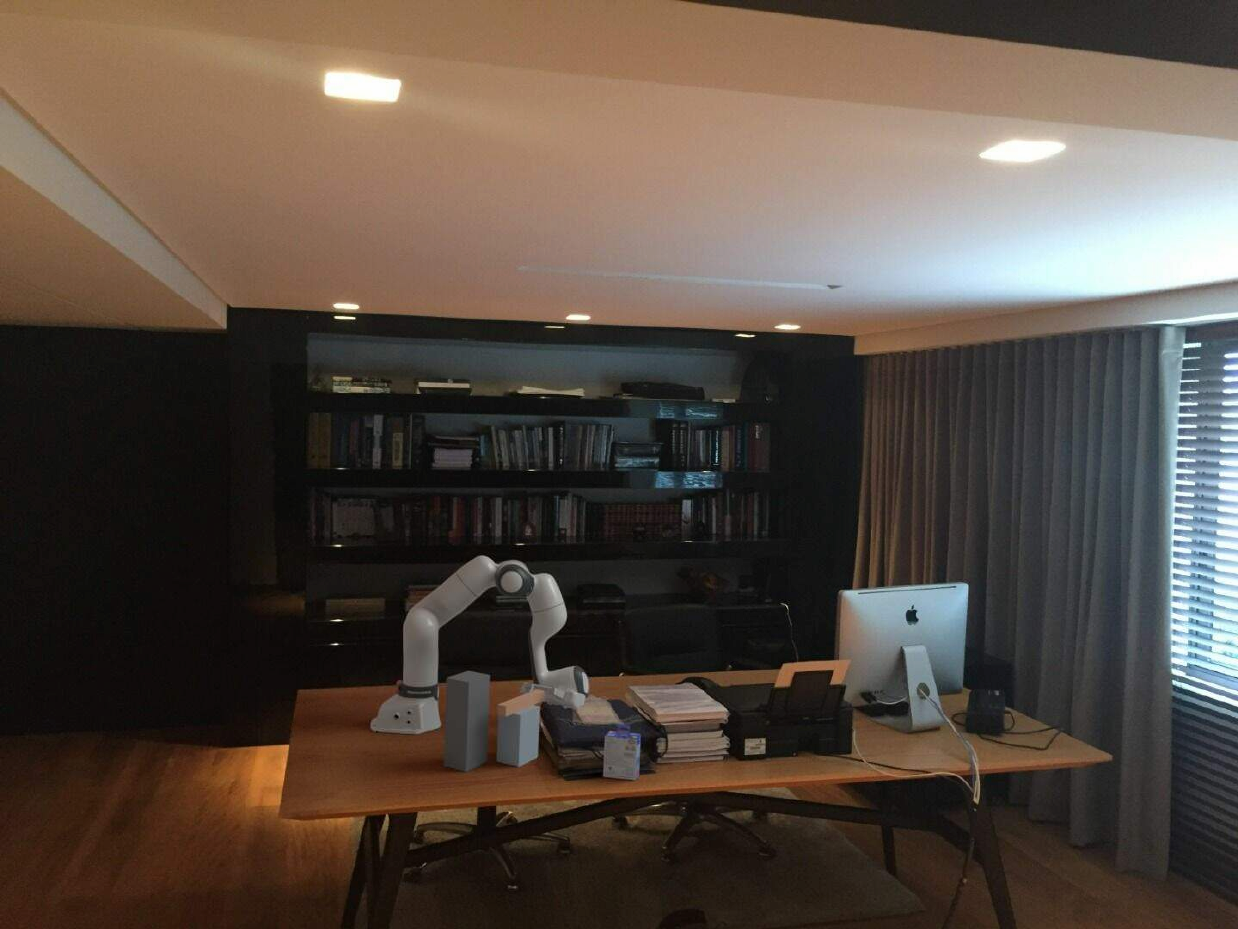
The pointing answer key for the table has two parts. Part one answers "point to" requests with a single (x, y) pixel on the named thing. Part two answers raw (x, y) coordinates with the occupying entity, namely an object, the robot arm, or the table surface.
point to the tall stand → (466, 720)
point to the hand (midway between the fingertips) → (539, 687)
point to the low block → (518, 737)
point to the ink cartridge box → (621, 754)
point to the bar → (520, 702)
